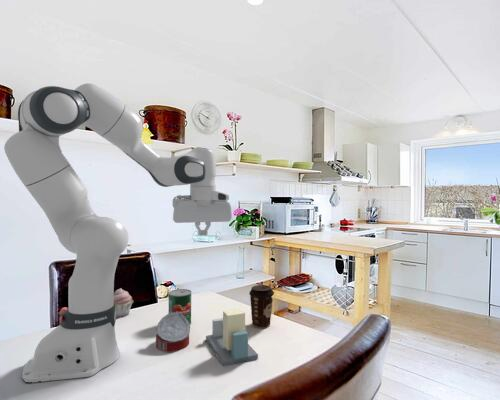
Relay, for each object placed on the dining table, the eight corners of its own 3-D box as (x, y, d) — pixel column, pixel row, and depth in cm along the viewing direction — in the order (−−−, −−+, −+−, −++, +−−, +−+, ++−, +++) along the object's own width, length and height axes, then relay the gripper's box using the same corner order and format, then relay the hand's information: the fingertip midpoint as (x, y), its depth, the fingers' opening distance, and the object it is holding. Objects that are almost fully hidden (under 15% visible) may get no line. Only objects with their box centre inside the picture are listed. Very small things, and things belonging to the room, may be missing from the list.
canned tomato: (180, 329, 107) (180, 297, 107) (163, 324, 111) (163, 293, 111) (196, 322, 114) (196, 291, 114) (179, 317, 118) (179, 287, 118)
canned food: (187, 354, 100) (202, 326, 100) (171, 366, 91) (188, 336, 90) (160, 332, 104) (174, 306, 103) (141, 342, 94) (157, 313, 94)
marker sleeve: (227, 350, 88) (227, 315, 88) (222, 344, 92) (223, 310, 92) (244, 347, 91) (245, 313, 90) (239, 341, 94) (240, 308, 94)
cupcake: (132, 318, 118) (132, 290, 117) (104, 320, 115) (104, 292, 115) (134, 309, 127) (134, 284, 126) (109, 311, 124) (109, 285, 124)
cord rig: (223, 366, 84) (223, 337, 84) (205, 339, 100) (206, 315, 100) (257, 358, 88) (258, 331, 88) (236, 334, 104) (236, 311, 104)
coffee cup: (274, 320, 116) (274, 284, 115) (273, 330, 107) (274, 291, 107) (250, 319, 116) (250, 284, 116) (247, 329, 108) (248, 290, 108)
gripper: (174, 195, 104) (174, 237, 105) (233, 195, 112) (233, 235, 113) (171, 195, 110) (170, 235, 110) (227, 195, 118) (227, 233, 118)
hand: (202, 235), depth 111 cm, fingers closed
